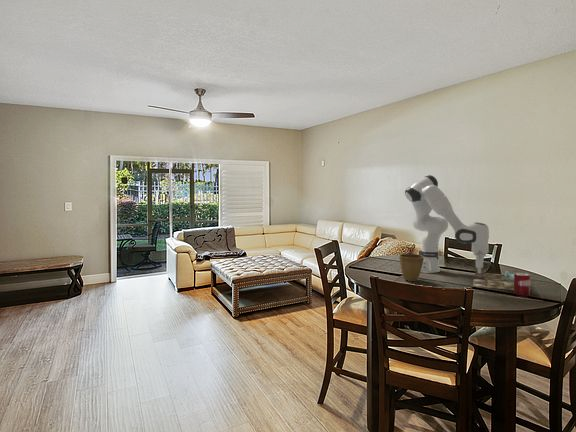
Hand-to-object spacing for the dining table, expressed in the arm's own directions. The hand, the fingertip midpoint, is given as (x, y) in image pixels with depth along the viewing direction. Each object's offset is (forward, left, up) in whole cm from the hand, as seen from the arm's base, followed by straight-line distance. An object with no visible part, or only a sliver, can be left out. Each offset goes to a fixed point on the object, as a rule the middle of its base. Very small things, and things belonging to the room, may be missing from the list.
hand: (479, 272), depth 203 cm
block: (0, 0, -1) cm, 1 cm away
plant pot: (-38, -6, -8) cm, 39 cm away
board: (+9, +1, -8) cm, 12 cm away
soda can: (+20, -14, -8) cm, 26 cm away
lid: (+17, +1, -2) cm, 17 cm away
